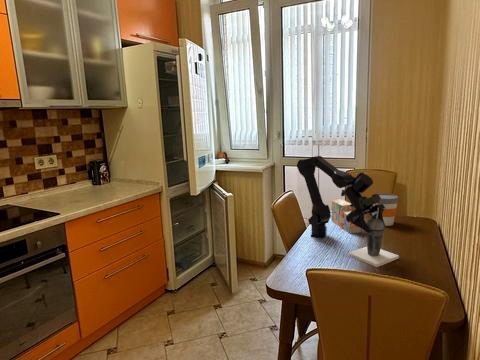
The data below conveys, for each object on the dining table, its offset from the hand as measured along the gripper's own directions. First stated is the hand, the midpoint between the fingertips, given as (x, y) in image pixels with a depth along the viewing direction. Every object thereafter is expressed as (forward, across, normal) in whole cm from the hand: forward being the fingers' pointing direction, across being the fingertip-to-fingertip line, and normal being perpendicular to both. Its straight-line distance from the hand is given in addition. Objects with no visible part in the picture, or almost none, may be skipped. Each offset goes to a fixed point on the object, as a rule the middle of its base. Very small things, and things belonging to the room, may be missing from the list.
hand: (377, 230), depth 140 cm
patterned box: (-16, +21, +33) cm, 42 cm away
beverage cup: (+7, 0, +9) cm, 11 cm away
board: (+8, 0, +10) cm, 12 cm away
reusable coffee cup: (-10, +41, +27) cm, 50 cm away
